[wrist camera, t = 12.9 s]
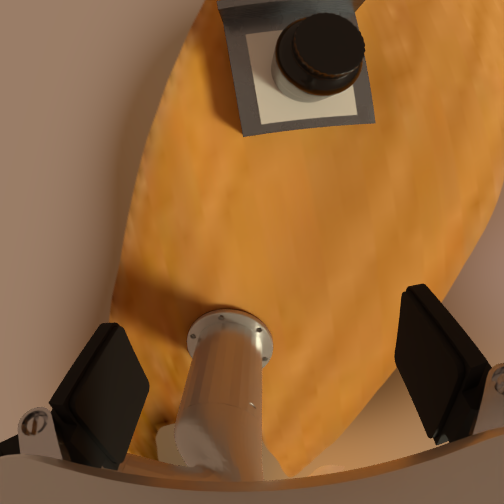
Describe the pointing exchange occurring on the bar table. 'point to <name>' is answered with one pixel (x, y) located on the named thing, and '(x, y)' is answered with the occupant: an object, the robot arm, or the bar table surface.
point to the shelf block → (260, 59)
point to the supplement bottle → (317, 57)
